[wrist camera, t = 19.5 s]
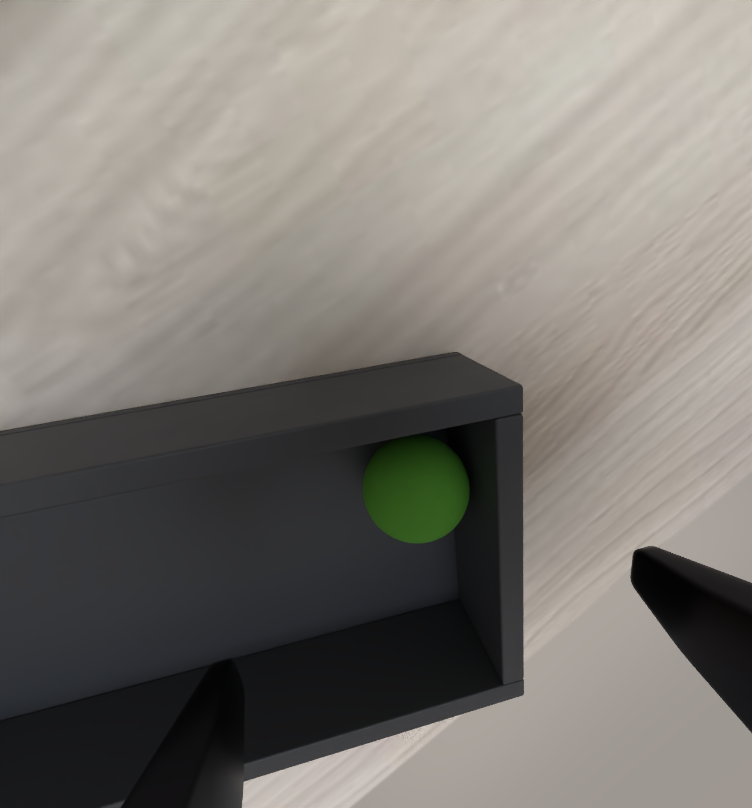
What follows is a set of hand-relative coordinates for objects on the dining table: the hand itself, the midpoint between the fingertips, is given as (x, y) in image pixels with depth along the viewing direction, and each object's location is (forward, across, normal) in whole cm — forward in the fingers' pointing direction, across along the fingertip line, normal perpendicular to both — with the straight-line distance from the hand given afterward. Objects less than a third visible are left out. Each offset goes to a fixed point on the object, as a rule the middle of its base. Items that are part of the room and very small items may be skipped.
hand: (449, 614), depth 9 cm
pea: (+7, 0, 0) cm, 7 cm away
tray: (+7, +10, +2) cm, 12 cm away
